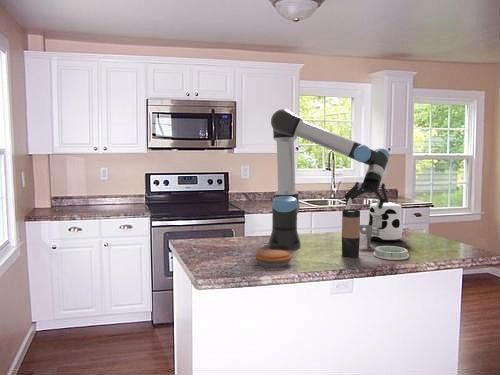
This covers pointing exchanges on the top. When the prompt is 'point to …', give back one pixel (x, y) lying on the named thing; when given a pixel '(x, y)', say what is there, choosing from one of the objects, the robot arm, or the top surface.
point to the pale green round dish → (391, 253)
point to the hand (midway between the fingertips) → (360, 212)
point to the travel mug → (350, 233)
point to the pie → (273, 258)
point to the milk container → (386, 222)
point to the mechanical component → (369, 232)
